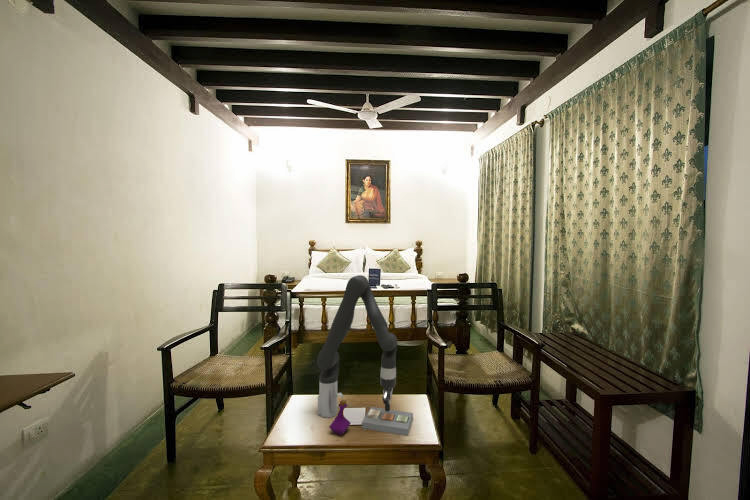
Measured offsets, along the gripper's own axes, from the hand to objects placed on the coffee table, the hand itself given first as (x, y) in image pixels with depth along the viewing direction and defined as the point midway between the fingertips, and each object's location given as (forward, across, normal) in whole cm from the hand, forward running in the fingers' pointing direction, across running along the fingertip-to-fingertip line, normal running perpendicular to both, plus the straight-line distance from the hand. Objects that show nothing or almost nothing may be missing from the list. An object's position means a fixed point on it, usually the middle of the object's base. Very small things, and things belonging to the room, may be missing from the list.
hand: (387, 410), depth 161 cm
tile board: (+6, 0, 0) cm, 6 cm away
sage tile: (+5, 0, +7) cm, 9 cm away
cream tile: (+4, 0, -7) cm, 8 cm away
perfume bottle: (+7, +13, -20) cm, 24 cm away
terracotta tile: (+5, 0, 0) cm, 5 cm away
